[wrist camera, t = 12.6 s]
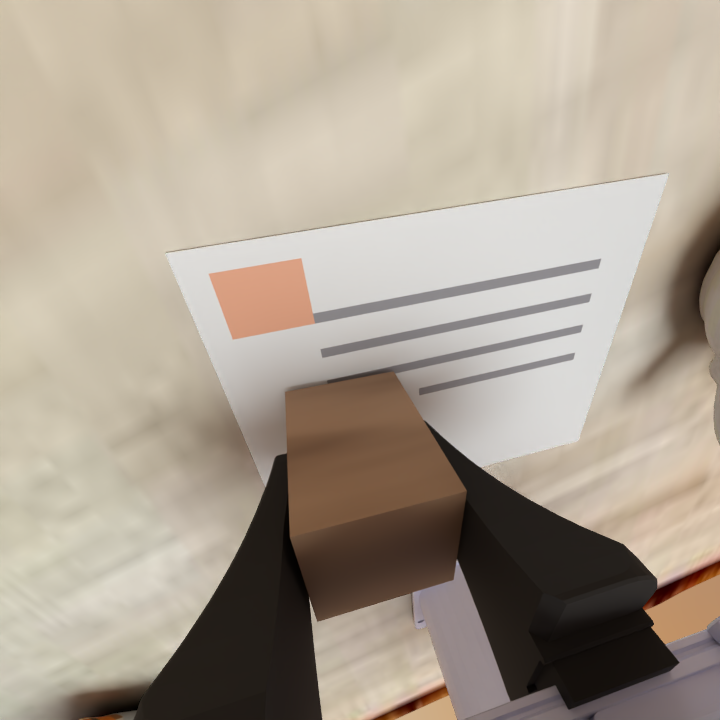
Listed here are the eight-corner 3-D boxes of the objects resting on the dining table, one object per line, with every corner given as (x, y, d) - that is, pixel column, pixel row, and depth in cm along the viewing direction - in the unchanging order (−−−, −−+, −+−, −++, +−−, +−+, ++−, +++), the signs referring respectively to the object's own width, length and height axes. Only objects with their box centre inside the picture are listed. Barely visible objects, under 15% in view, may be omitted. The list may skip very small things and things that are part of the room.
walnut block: (395, 448, 15) (453, 579, 10) (303, 469, 15) (317, 621, 10) (393, 371, 13) (467, 490, 8) (284, 391, 12) (289, 537, 7)
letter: (576, 439, 19) (578, 441, 19) (279, 519, 17) (279, 521, 17) (665, 173, 12) (669, 173, 12) (166, 252, 10) (164, 253, 10)
